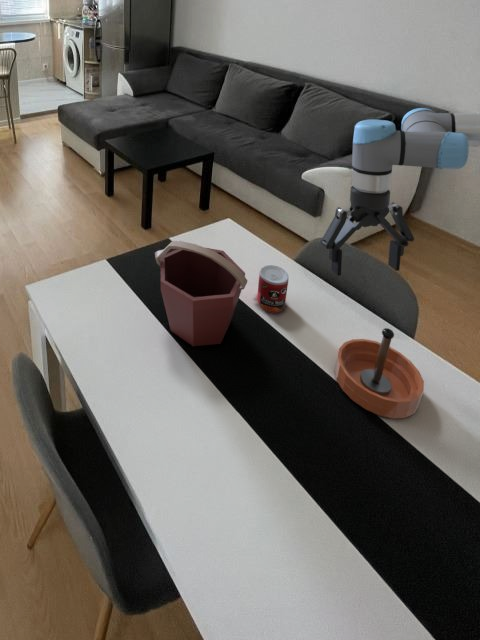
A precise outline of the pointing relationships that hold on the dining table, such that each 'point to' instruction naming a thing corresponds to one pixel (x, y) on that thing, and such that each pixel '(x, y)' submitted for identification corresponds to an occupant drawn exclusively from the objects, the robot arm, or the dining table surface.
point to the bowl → (396, 369)
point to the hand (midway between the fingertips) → (364, 270)
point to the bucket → (199, 291)
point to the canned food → (272, 288)
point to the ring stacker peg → (379, 368)
